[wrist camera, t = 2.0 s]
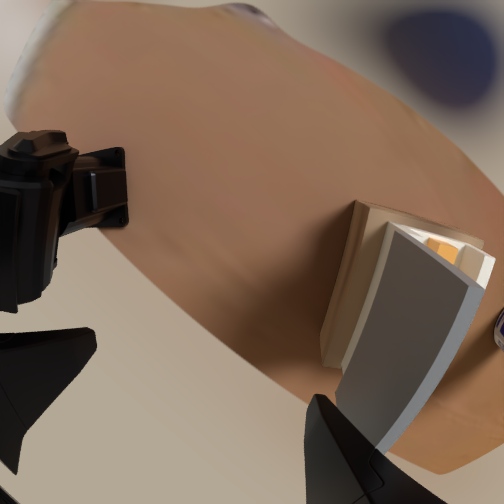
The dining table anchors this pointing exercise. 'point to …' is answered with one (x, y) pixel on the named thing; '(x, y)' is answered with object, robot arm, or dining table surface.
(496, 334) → the energy drink
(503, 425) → the dining table surface
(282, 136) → the dining table surface
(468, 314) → the lid
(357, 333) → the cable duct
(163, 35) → the dining table surface
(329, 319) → the wooden base
